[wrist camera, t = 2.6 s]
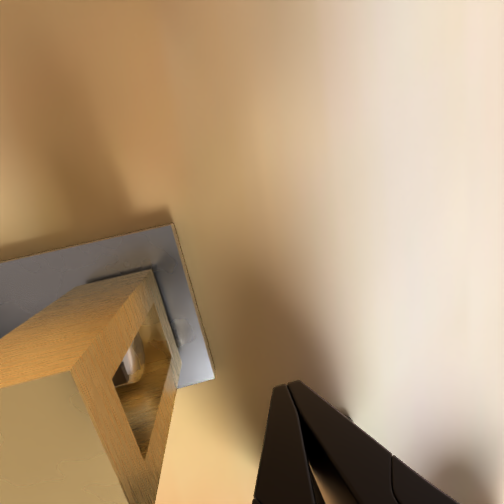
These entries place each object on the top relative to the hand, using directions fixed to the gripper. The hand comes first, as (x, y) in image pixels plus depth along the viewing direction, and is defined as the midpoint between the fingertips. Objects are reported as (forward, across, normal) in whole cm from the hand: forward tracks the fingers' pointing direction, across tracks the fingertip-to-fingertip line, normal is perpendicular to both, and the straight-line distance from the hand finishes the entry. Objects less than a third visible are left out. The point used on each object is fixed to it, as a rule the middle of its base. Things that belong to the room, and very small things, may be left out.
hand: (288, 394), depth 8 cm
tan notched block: (+8, +7, 0) cm, 10 cm away
